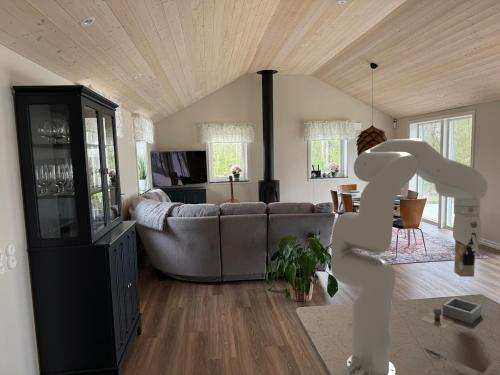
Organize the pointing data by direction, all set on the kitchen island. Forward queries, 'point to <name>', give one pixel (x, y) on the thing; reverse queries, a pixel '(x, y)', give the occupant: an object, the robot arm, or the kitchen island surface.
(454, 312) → the bin
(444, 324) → the stud plate
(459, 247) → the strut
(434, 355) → the adjustable wrench
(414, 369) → the kitchen island surface
